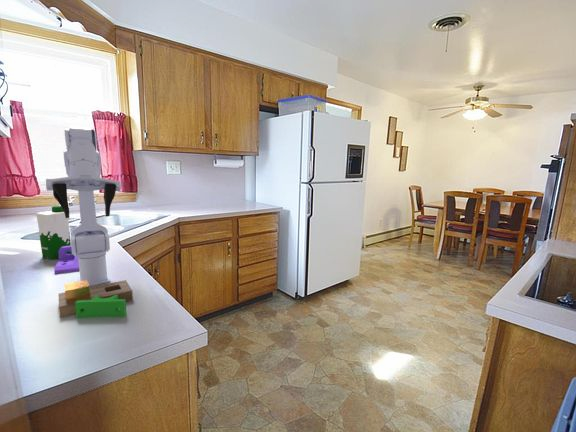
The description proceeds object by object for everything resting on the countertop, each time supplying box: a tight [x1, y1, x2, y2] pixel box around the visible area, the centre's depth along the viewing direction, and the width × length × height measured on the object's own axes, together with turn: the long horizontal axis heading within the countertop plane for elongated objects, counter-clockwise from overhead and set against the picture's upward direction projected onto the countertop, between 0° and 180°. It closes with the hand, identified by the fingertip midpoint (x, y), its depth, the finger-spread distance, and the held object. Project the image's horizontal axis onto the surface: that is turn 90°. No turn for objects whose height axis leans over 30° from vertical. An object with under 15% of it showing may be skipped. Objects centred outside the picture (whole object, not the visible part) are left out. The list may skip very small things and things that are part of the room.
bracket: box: [53, 246, 80, 275], centre depth 103 cm, size 12×7×7 cm, turn 30°
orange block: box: [64, 280, 90, 302], centre depth 75 cm, size 5×5×6 cm
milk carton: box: [35, 205, 71, 260], centre depth 114 cm, size 9×9×20 cm
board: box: [58, 279, 134, 318], centre depth 78 cm, size 9×16×3 cm, turn 129°
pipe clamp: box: [75, 295, 127, 319], centre depth 72 cm, size 11×4×5 cm, turn 96°
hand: (88, 215), depth 66 cm, fingers open, 7 cm apart
